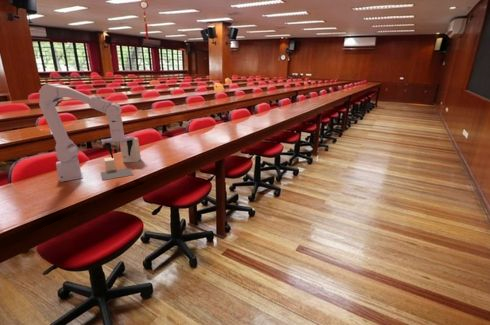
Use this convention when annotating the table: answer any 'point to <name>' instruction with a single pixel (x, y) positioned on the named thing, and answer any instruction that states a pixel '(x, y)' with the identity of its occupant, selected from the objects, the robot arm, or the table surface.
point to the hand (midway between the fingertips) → (121, 156)
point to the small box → (134, 152)
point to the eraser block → (109, 164)
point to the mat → (116, 173)
